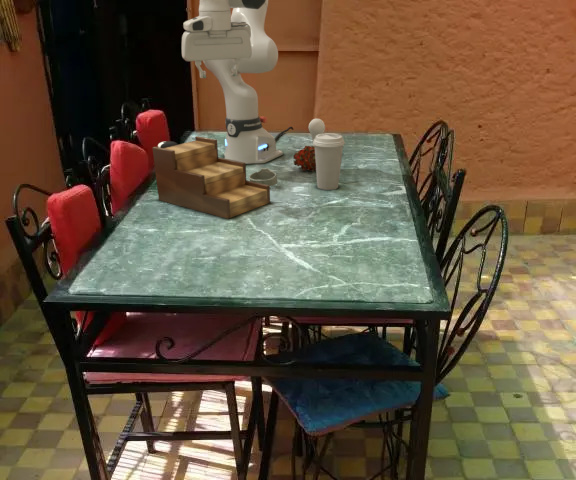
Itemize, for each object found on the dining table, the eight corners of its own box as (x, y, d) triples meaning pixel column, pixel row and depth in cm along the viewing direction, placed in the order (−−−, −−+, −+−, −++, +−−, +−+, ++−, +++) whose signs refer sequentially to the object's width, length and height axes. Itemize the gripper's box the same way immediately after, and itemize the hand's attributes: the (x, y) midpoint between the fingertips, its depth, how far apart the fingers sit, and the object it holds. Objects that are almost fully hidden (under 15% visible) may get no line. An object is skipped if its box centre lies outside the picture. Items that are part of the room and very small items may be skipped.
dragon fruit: (322, 178, 211) (295, 177, 218) (333, 159, 213) (306, 158, 220) (310, 160, 204) (283, 160, 212) (322, 139, 206) (294, 140, 214)
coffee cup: (345, 190, 194) (347, 139, 186) (314, 191, 193) (315, 140, 185) (340, 182, 202) (342, 132, 193) (310, 183, 201) (311, 133, 193)
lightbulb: (316, 147, 242) (316, 116, 236) (327, 149, 238) (328, 118, 232) (304, 149, 239) (305, 118, 232) (316, 152, 235) (316, 120, 229)
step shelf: (202, 186, 199) (198, 136, 191) (270, 202, 185) (268, 149, 176) (158, 200, 188) (152, 147, 180) (227, 218, 173) (224, 162, 165)
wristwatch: (280, 184, 200) (280, 168, 197) (271, 190, 195) (271, 173, 192) (255, 181, 203) (254, 165, 201) (245, 186, 199) (244, 170, 196)
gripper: (247, 21, 184) (249, 73, 192) (177, 23, 178) (182, 77, 186) (254, 22, 179) (255, 76, 187) (182, 24, 173) (187, 80, 181)
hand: (218, 77), depth 186 cm, fingers open, 8 cm apart
